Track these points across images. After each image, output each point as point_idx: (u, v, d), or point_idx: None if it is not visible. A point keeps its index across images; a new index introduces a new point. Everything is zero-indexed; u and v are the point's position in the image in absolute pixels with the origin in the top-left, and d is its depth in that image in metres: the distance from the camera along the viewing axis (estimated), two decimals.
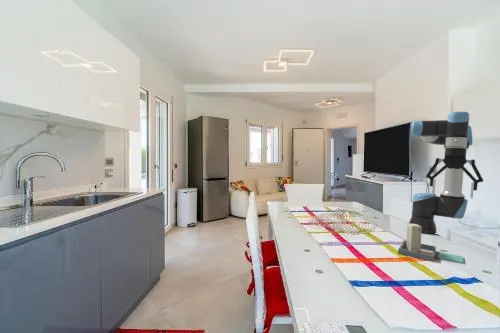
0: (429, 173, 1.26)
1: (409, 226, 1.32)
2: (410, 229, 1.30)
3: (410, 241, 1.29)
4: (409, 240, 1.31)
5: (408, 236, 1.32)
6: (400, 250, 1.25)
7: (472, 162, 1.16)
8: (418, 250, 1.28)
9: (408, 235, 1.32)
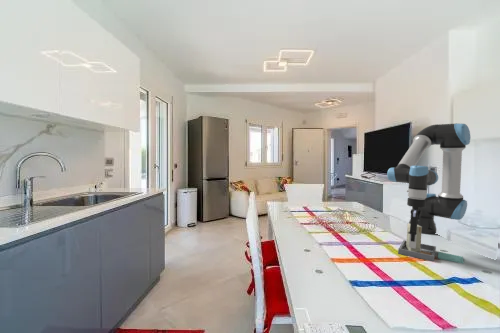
0: None
1: (409, 226, 1.32)
2: None
3: None
4: None
5: (408, 236, 1.32)
6: (400, 250, 1.25)
7: (411, 214, 1.27)
8: (418, 250, 1.28)
9: (408, 235, 1.32)
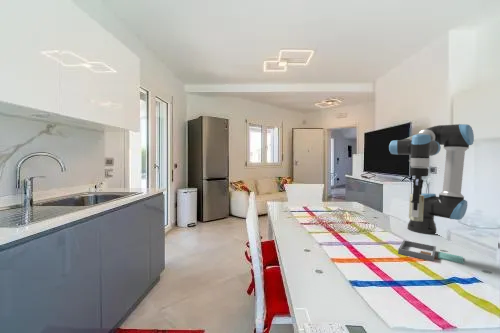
0: None
1: (411, 196, 1.31)
2: None
3: None
4: None
5: (411, 206, 1.32)
6: (400, 250, 1.25)
7: (413, 183, 1.26)
8: (421, 219, 1.28)
9: (411, 205, 1.32)
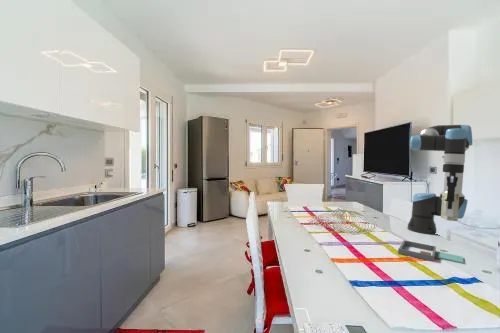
0: None
1: (445, 194, 1.23)
2: (446, 197, 1.22)
3: None
4: (445, 209, 1.23)
5: (444, 205, 1.24)
6: (400, 250, 1.25)
7: (448, 180, 1.19)
8: (455, 219, 1.20)
9: (444, 204, 1.24)
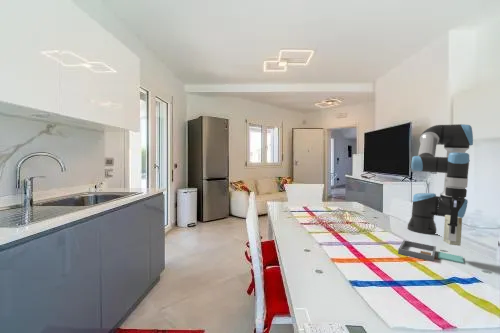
0: None
1: (447, 218, 1.23)
2: (449, 221, 1.22)
3: None
4: (448, 232, 1.22)
5: (446, 228, 1.23)
6: (400, 250, 1.25)
7: (451, 204, 1.18)
8: (458, 243, 1.19)
9: (446, 227, 1.24)
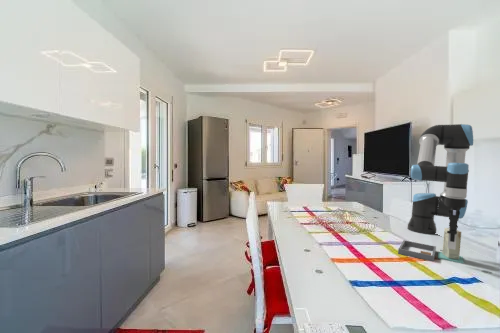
0: None
1: None
2: (448, 234, 1.22)
3: None
4: (447, 246, 1.22)
5: (445, 241, 1.24)
6: (400, 250, 1.25)
7: (450, 212, 1.18)
8: (457, 257, 1.20)
9: (445, 240, 1.24)
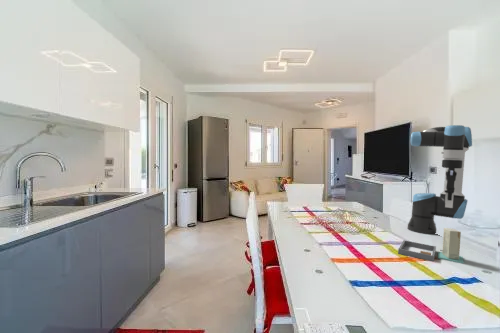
0: None
1: (446, 231, 1.23)
2: (447, 234, 1.22)
3: (448, 247, 1.21)
4: (446, 246, 1.22)
5: (445, 241, 1.24)
6: (400, 250, 1.25)
7: (448, 173, 1.22)
8: (457, 257, 1.20)
9: (445, 240, 1.24)
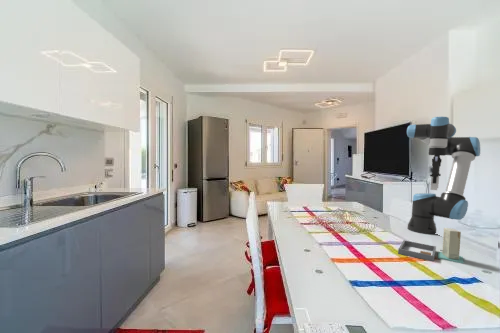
0: None
1: (446, 231, 1.23)
2: (447, 234, 1.22)
3: (448, 247, 1.21)
4: (446, 246, 1.22)
5: (445, 241, 1.24)
6: (400, 250, 1.25)
7: (433, 159, 1.36)
8: (457, 257, 1.20)
9: (445, 240, 1.24)
